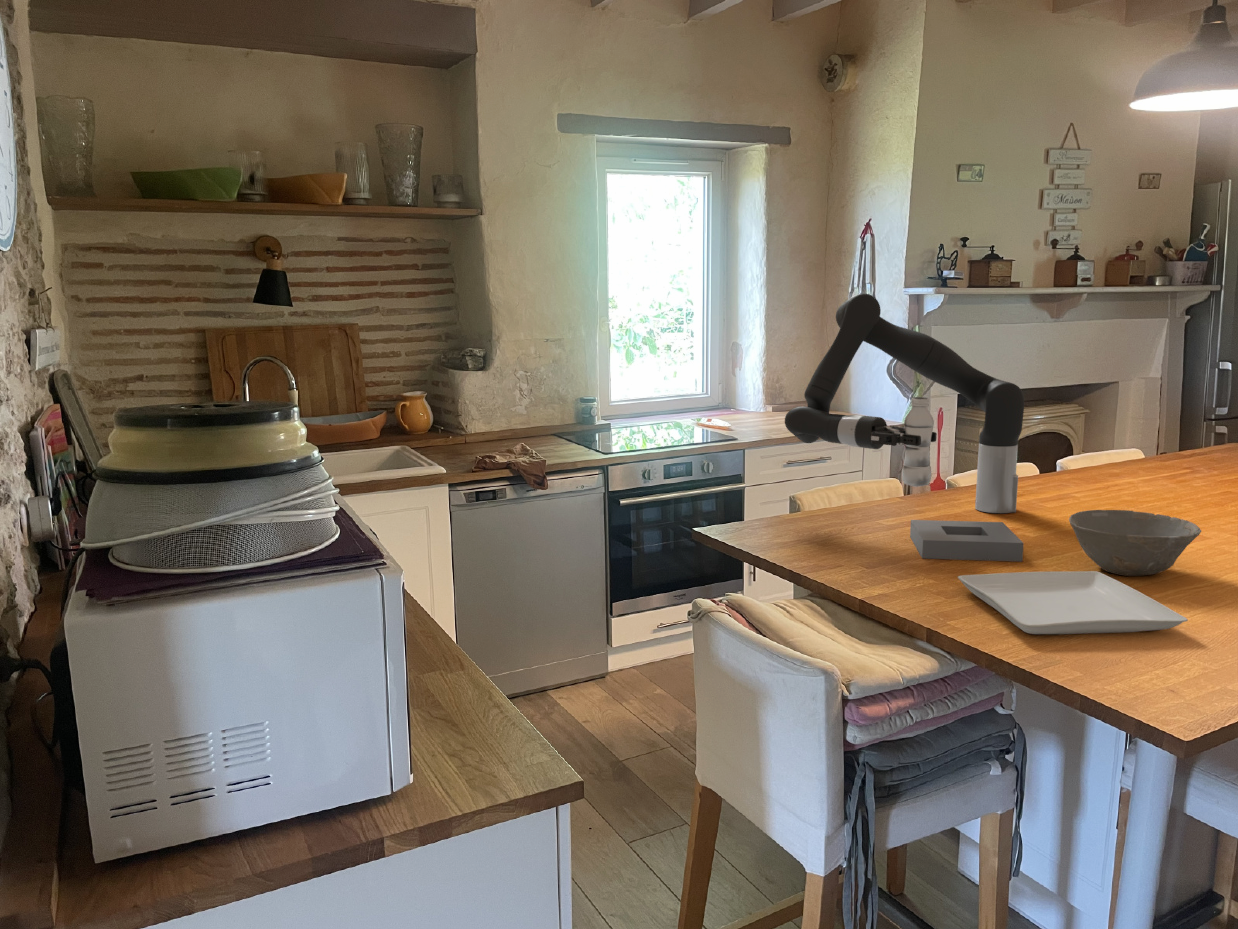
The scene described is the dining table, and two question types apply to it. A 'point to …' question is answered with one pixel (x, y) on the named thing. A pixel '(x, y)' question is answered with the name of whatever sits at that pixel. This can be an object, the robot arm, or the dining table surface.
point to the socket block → (965, 540)
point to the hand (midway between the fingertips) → (927, 439)
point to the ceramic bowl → (1132, 540)
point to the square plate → (1070, 602)
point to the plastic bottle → (919, 456)
